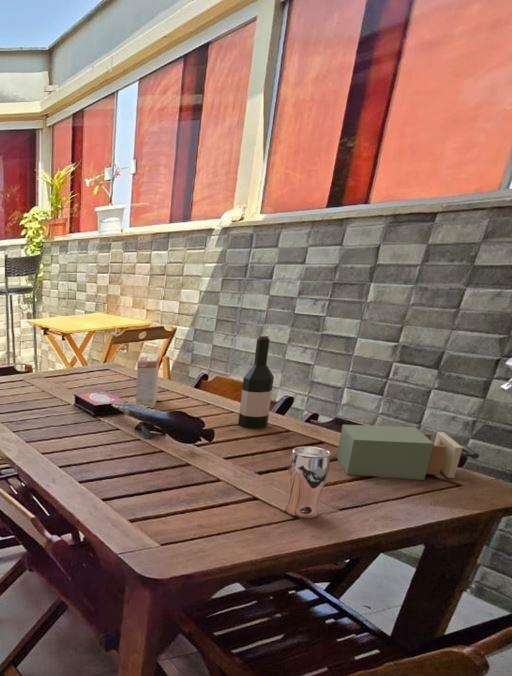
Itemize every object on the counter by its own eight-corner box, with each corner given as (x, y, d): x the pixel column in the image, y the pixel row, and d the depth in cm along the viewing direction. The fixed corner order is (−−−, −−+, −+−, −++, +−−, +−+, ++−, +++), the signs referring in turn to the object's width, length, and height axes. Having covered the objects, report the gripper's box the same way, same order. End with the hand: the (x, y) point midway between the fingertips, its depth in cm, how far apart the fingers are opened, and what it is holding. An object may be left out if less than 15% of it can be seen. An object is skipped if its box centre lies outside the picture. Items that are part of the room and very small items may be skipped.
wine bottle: (240, 428, 165) (250, 339, 155) (236, 421, 172) (245, 335, 162) (269, 429, 162) (282, 337, 152) (264, 421, 169) (276, 333, 159)
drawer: (458, 462, 124) (466, 433, 122) (478, 479, 115) (488, 448, 113) (367, 456, 133) (373, 429, 130) (379, 472, 124) (385, 443, 121)
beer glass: (311, 505, 114) (322, 445, 109) (326, 519, 108) (338, 457, 103) (277, 504, 116) (286, 446, 111) (289, 518, 110) (299, 457, 105)
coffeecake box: (139, 398, 211) (141, 353, 205) (157, 399, 208) (160, 353, 201) (134, 408, 199) (136, 360, 193) (154, 408, 196) (156, 360, 189)
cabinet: (407, 461, 130) (415, 427, 126) (424, 480, 120) (434, 443, 116) (336, 457, 137) (342, 424, 134) (346, 474, 127) (353, 439, 124)
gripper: (545, 329, 113) (473, 371, 121) (604, 345, 96) (516, 392, 104) (568, 348, 112) (494, 389, 120) (632, 367, 95) (541, 413, 103)
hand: (505, 391), depth 112 cm, fingers closed
